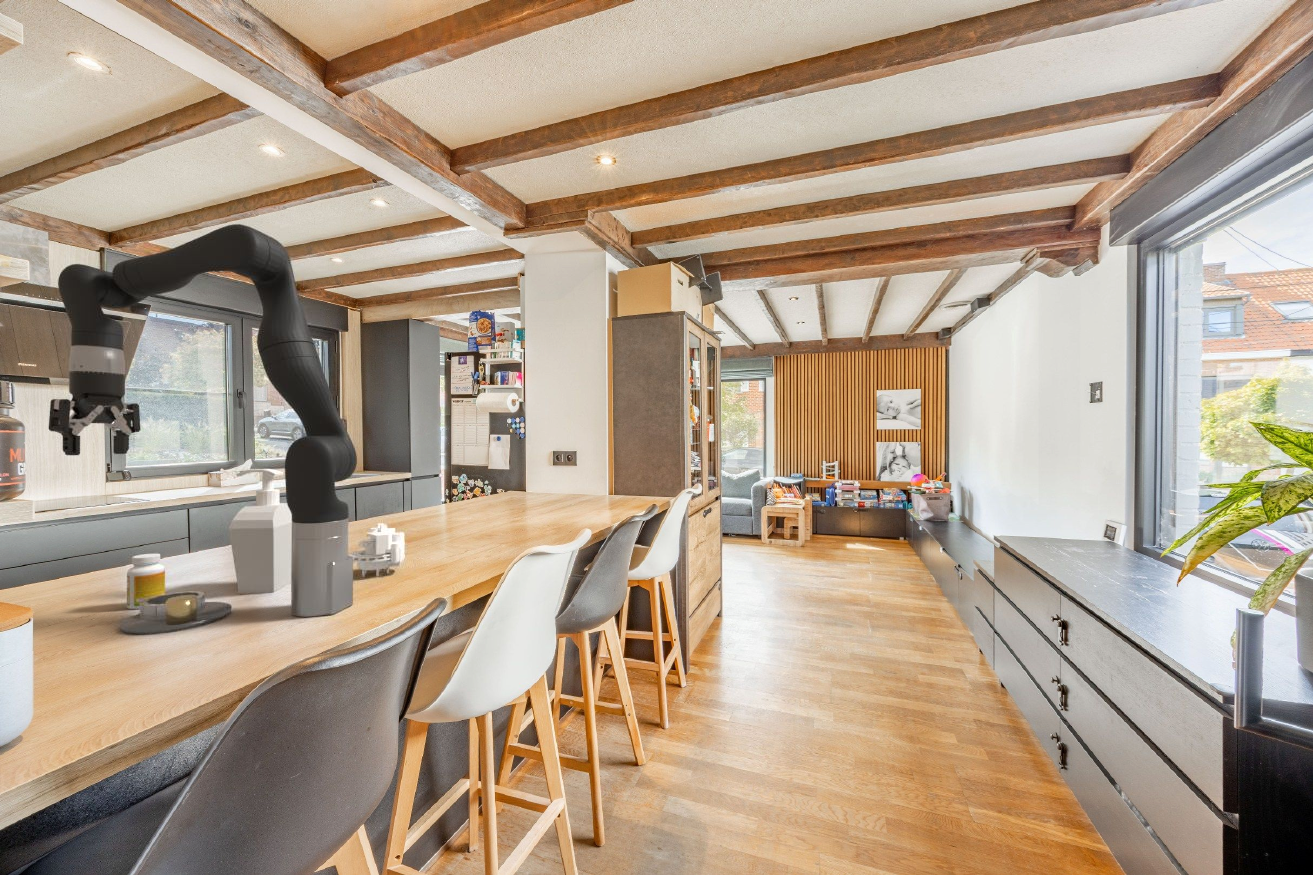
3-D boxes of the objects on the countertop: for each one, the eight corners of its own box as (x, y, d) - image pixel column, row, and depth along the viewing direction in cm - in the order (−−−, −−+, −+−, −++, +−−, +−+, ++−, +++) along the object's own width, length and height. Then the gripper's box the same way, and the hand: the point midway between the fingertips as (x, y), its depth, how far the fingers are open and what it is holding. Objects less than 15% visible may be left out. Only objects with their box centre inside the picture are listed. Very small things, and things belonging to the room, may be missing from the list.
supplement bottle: (172, 601, 106) (172, 552, 106) (144, 610, 101) (144, 559, 101) (148, 600, 107) (148, 552, 107) (118, 609, 101) (118, 558, 101)
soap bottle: (253, 580, 121) (254, 467, 121) (302, 579, 123) (302, 467, 123) (218, 596, 109) (219, 471, 109) (273, 594, 111) (273, 471, 111)
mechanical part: (353, 570, 131) (353, 522, 131) (406, 566, 136) (406, 520, 136) (344, 582, 121) (344, 530, 121) (402, 577, 125) (403, 527, 125)
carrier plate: (252, 606, 103) (252, 582, 103) (179, 635, 88) (179, 606, 88) (178, 604, 104) (178, 580, 104) (93, 633, 89) (93, 604, 89)
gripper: (74, 367, 97) (74, 456, 97) (152, 375, 111) (152, 453, 111) (35, 366, 97) (35, 455, 97) (118, 375, 111) (117, 453, 111)
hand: (97, 454), depth 104 cm, fingers open, 8 cm apart
